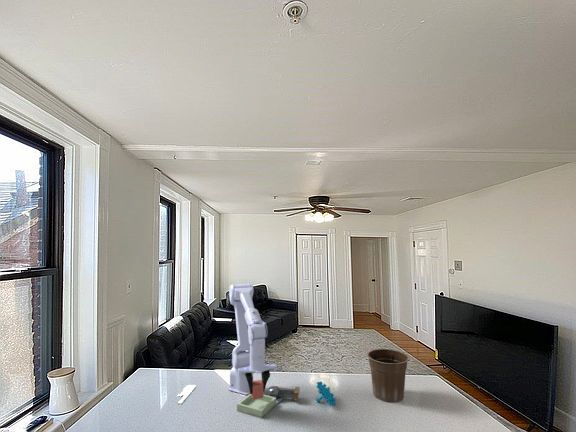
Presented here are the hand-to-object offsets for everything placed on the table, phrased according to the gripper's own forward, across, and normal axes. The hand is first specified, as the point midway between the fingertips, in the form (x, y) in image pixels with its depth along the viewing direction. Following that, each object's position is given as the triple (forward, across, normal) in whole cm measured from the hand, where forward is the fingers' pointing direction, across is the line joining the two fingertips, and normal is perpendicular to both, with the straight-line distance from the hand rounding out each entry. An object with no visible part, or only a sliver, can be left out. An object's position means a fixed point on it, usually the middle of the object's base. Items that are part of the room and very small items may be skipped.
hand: (257, 391), depth 129 cm
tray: (+6, 0, 0) cm, 6 cm away
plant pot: (+6, +53, -7) cm, 54 cm away
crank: (+5, +12, +3) cm, 13 cm away
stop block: (+2, 0, 0) cm, 2 cm away
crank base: (+6, +9, +6) cm, 12 cm away
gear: (+6, +27, -4) cm, 28 cm away
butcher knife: (+6, -26, +19) cm, 33 cm away
